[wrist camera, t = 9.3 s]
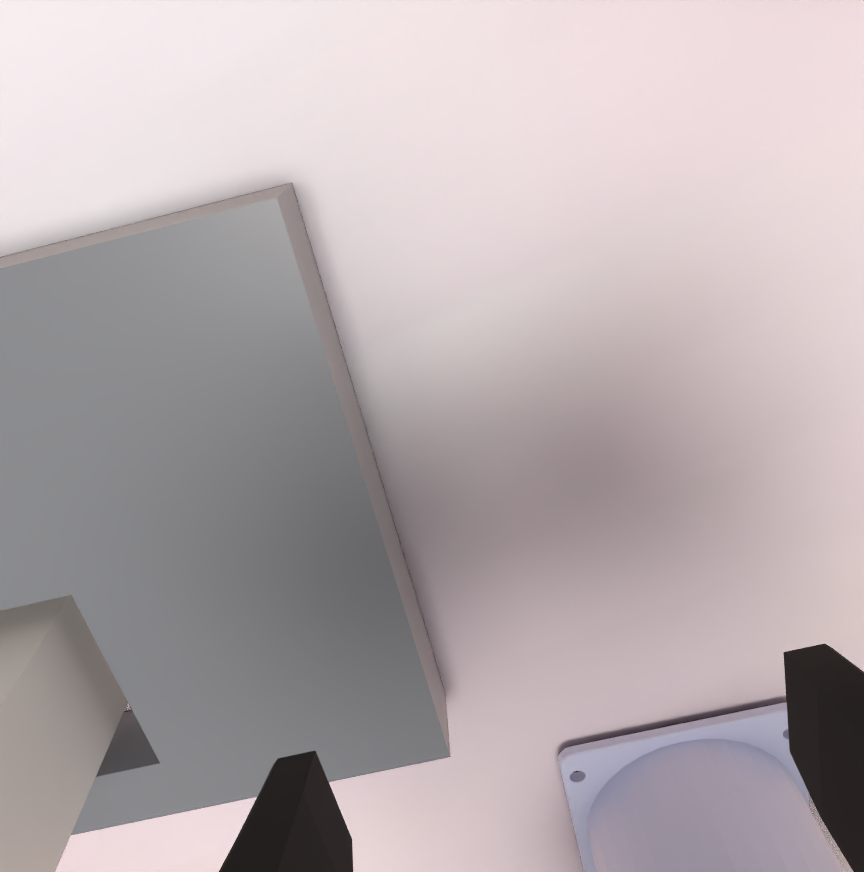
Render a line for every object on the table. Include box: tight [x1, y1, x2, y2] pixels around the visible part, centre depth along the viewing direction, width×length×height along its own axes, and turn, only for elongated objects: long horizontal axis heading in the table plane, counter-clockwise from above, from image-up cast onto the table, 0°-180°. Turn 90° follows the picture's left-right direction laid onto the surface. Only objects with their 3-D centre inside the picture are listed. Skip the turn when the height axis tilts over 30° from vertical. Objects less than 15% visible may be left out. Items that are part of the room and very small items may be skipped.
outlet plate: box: [0, 183, 450, 835], centre depth 21 cm, size 16×16×2 cm
